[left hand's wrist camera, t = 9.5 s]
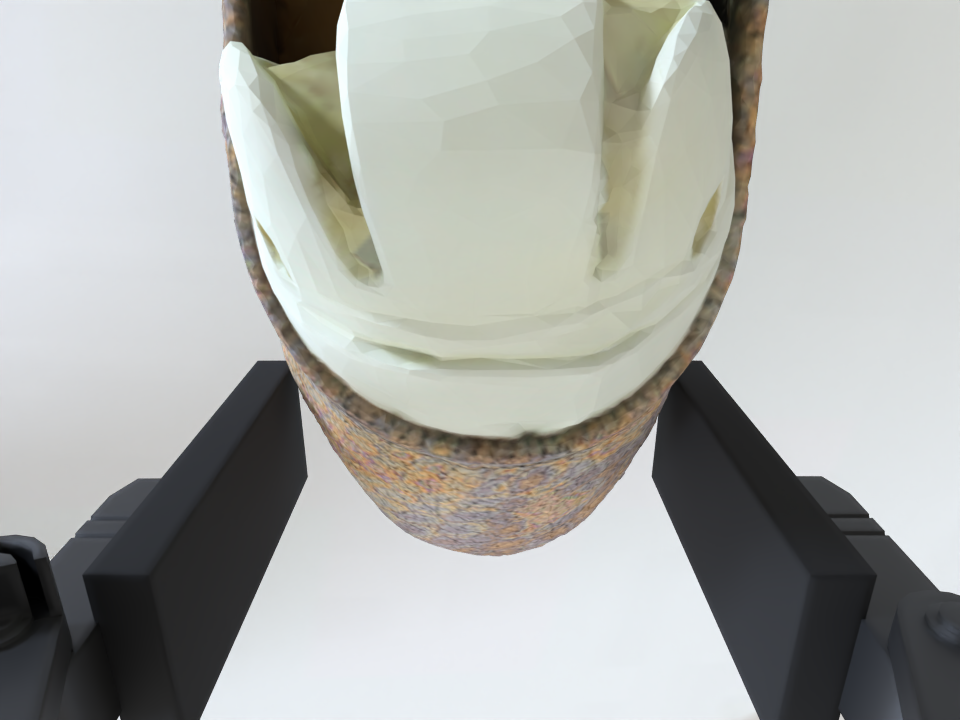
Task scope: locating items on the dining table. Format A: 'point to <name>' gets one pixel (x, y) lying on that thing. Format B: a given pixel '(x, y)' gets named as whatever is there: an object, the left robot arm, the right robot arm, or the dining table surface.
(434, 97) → the speckled felt slipper
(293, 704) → the dining table surface
